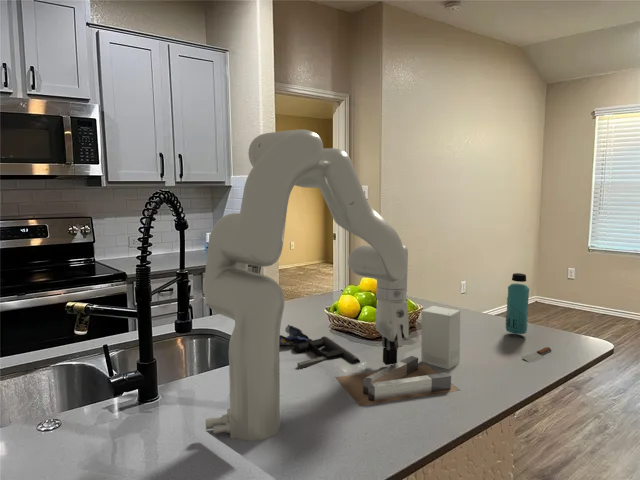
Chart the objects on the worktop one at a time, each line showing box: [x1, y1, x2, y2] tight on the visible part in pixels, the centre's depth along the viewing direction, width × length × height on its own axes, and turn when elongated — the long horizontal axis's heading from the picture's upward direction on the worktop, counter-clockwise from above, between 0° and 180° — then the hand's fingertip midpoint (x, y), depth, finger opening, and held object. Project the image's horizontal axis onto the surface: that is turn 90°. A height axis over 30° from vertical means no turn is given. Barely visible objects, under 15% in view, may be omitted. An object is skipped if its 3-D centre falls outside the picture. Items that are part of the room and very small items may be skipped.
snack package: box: [279, 324, 313, 346], centre depth 141 cm, size 12×6×12 cm
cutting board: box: [335, 364, 461, 407], centre depth 111 cm, size 25×15×2 cm, turn 108°
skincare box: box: [420, 305, 461, 370], centre depth 123 cm, size 8×7×16 cm
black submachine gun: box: [293, 336, 361, 370], centre depth 129 cm, size 3×20×16 cm
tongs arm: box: [363, 355, 419, 394], centre depth 112 cm, size 20×2×3 cm, turn 136°
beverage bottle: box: [504, 272, 530, 335], centre depth 148 cm, size 6×7×20 cm
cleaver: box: [521, 346, 552, 364], centre depth 132 cm, size 13×2×5 cm
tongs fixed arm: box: [368, 372, 452, 401], centre depth 105 cm, size 20×2×3 cm, turn 108°
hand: (389, 363), depth 120 cm, fingers closed
